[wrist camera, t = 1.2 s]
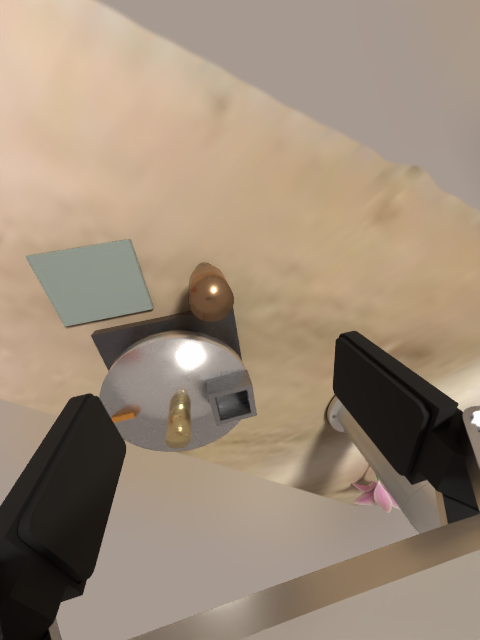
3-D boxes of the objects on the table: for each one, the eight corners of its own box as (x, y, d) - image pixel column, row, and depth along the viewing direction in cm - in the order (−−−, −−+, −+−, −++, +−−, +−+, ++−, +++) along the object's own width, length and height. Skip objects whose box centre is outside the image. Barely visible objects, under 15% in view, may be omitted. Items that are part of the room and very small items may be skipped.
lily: (333, 472, 54) (353, 525, 48) (380, 462, 47) (409, 522, 42) (356, 462, 61) (376, 507, 56) (399, 453, 54) (427, 503, 49)
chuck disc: (135, 451, 31) (121, 510, 25) (79, 349, 24) (38, 398, 17) (253, 419, 33) (268, 467, 27) (237, 316, 25) (252, 349, 19)
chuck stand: (231, 303, 29) (236, 315, 26) (247, 398, 37) (253, 418, 33) (94, 330, 27) (80, 348, 24) (141, 425, 35) (135, 449, 31)
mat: (130, 238, 24) (129, 239, 23) (153, 307, 28) (152, 309, 27) (29, 255, 23) (25, 256, 22) (67, 324, 26) (64, 326, 26)
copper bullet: (217, 254, 26) (230, 275, 17) (222, 284, 28) (236, 316, 19) (186, 260, 26) (183, 284, 17) (193, 289, 28) (194, 325, 19)
